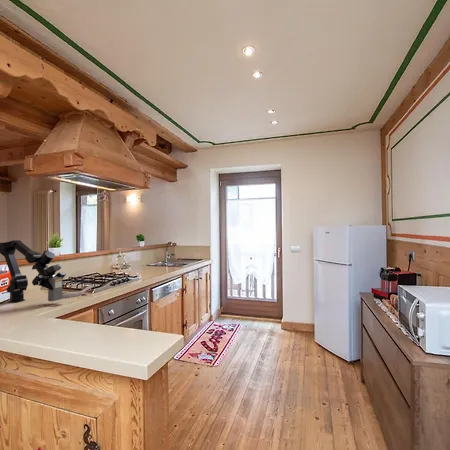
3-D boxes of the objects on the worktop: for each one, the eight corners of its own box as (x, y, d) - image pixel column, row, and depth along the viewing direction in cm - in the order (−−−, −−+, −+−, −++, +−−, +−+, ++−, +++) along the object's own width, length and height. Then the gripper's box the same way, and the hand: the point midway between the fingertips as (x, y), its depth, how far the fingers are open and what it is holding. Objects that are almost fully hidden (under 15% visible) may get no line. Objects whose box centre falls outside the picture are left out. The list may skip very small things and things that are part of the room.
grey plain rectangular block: (47, 300, 157) (48, 278, 157) (56, 298, 162) (57, 277, 163) (53, 301, 156) (54, 278, 156) (62, 298, 161) (62, 277, 162)
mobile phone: (94, 285, 188) (53, 290, 170) (93, 294, 187) (52, 300, 169) (90, 285, 192) (50, 289, 174) (90, 293, 192) (50, 299, 173)
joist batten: (38, 305, 155) (38, 305, 155) (45, 303, 159) (45, 303, 159) (55, 306, 152) (55, 306, 152) (62, 304, 156) (62, 303, 156)
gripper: (36, 261, 152) (51, 281, 149) (64, 259, 170) (77, 277, 167) (25, 275, 154) (39, 295, 150) (53, 271, 172) (67, 289, 168)
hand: (57, 288), depth 159 cm, fingers closed on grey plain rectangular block, 6 cm apart
